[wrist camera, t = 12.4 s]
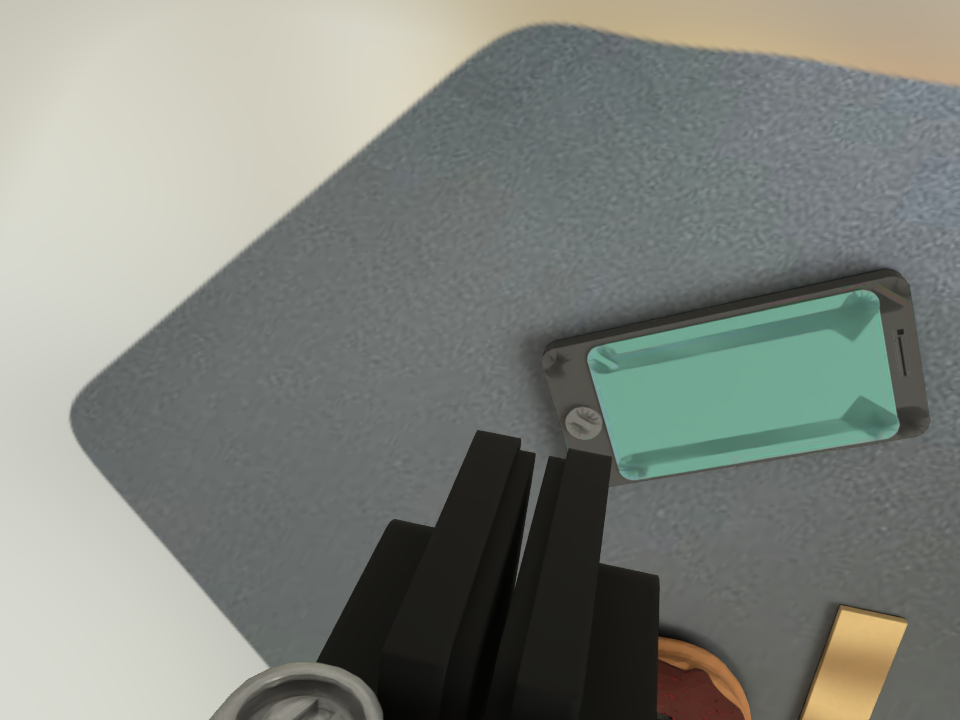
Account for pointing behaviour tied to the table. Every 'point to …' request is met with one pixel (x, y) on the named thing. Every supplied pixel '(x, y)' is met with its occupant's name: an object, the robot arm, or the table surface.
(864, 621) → the strip
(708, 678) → the donut
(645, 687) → the robot arm
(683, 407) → the smartphone
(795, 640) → the table surface
